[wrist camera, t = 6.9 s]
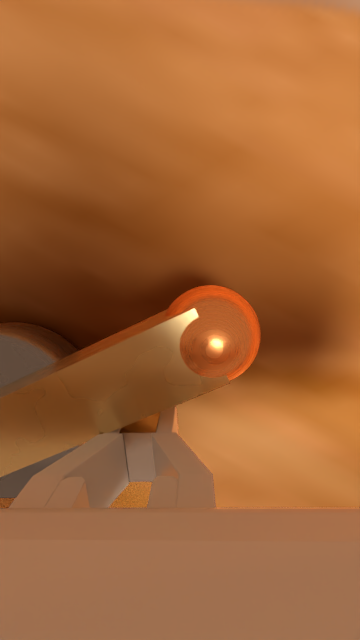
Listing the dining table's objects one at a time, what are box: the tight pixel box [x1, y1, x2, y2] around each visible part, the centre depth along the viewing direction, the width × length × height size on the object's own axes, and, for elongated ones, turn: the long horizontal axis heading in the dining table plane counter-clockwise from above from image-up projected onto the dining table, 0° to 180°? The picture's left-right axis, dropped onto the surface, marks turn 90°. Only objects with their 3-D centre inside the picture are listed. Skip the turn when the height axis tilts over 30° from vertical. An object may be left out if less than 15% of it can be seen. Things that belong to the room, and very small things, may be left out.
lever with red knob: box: [0, 285, 261, 498], centre depth 10 cm, size 17×8×6 cm, turn 116°
